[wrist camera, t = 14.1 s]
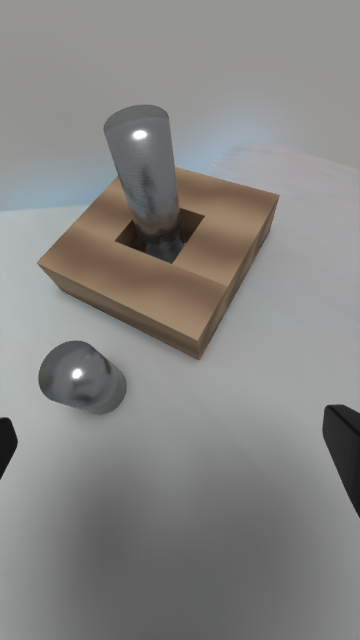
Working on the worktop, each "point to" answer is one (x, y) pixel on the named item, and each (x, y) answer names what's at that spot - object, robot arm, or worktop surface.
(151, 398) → the worktop surface
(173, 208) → the long pin
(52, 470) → the worktop surface
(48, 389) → the short pin
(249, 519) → the worktop surface
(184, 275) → the plate
